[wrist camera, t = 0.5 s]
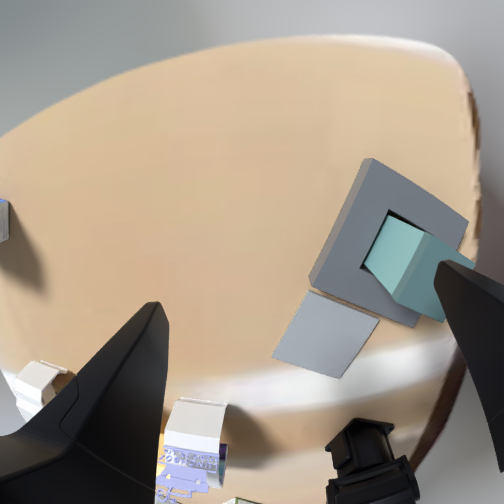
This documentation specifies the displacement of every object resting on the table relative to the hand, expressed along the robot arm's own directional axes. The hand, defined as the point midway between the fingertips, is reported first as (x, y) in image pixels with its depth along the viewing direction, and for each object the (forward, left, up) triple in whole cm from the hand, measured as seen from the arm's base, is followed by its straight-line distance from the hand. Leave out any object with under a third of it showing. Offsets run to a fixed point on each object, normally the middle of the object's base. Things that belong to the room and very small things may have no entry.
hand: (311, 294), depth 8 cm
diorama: (+8, +28, -14) cm, 32 cm away
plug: (-8, -2, -13) cm, 16 cm away
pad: (-7, +8, -13) cm, 17 cm away
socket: (-8, -1, -13) cm, 16 cm away
